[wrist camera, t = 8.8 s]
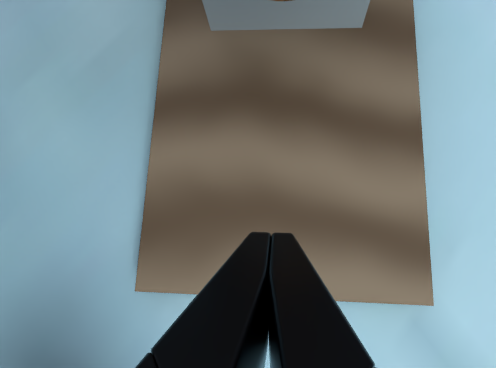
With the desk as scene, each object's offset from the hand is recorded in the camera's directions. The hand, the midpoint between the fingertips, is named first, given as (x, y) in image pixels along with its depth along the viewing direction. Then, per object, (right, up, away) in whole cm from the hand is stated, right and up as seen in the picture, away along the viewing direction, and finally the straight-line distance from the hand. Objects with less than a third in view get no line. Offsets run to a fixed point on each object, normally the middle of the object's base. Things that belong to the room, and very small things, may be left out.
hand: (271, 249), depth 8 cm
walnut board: (+2, +5, +15) cm, 16 cm away
